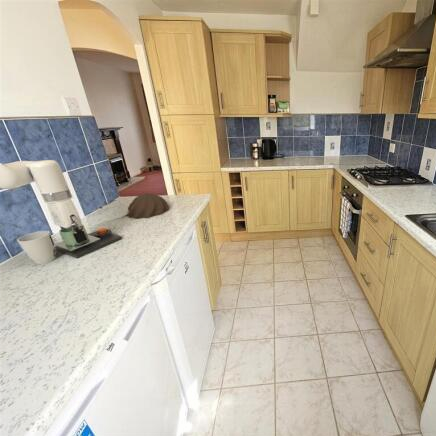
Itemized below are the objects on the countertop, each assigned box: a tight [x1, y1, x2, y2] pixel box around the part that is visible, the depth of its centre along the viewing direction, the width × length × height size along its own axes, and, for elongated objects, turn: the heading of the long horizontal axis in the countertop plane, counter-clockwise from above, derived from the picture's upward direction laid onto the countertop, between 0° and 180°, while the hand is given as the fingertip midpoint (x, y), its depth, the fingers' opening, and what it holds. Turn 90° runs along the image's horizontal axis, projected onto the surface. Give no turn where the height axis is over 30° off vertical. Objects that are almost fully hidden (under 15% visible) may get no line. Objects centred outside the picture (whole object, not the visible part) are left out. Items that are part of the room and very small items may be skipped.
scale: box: [54, 228, 123, 259], centre depth 98 cm, size 16×16×3 cm
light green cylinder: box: [58, 224, 89, 245], centre depth 93 cm, size 7×7×6 cm
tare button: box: [96, 227, 107, 234], centre depth 101 cm, size 3×3×2 cm
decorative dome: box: [127, 192, 170, 220], centre depth 128 cm, size 19×20×10 cm
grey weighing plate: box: [54, 235, 100, 251], centre depth 94 cm, size 12×10×1 cm
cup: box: [17, 230, 57, 265], centre depth 86 cm, size 8×8×10 cm
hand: (76, 239), depth 94 cm, fingers closed on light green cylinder, 7 cm apart
